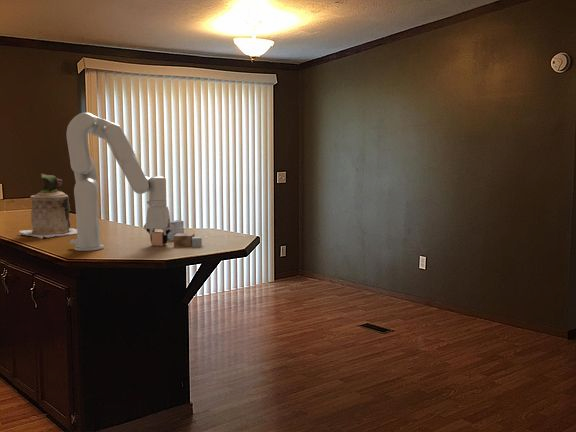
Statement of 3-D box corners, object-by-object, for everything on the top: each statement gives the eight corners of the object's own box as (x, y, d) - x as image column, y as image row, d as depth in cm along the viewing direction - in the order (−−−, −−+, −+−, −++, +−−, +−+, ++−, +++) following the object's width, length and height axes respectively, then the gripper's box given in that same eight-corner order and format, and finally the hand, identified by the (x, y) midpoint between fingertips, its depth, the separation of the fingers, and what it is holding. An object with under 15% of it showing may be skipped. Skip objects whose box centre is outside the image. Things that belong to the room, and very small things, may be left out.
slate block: (192, 247, 258) (192, 238, 258) (193, 245, 262) (192, 237, 262) (201, 246, 259) (201, 238, 258) (201, 245, 263) (201, 236, 262)
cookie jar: (42, 239, 287) (38, 175, 283) (17, 235, 302) (12, 174, 298) (86, 233, 307) (82, 173, 303) (60, 229, 321) (56, 172, 318)
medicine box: (177, 237, 287) (176, 220, 286) (184, 237, 285) (183, 220, 284) (166, 239, 281) (165, 222, 280) (173, 240, 278) (172, 222, 277)
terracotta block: (151, 245, 262) (151, 232, 262) (156, 243, 267) (155, 230, 266) (162, 245, 261) (161, 232, 261) (166, 243, 266) (166, 231, 266)
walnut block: (173, 246, 260) (173, 235, 260) (177, 243, 268) (177, 233, 268) (191, 246, 260) (191, 235, 260) (194, 243, 268) (194, 233, 268)
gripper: (137, 204, 260) (138, 244, 262) (172, 204, 257) (173, 245, 259) (144, 202, 267) (145, 241, 269) (178, 203, 264) (179, 242, 266)
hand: (159, 242), depth 264 cm, fingers closed on terracotta block, 5 cm apart
